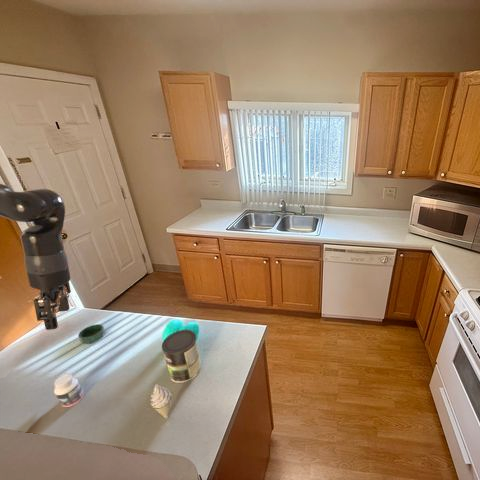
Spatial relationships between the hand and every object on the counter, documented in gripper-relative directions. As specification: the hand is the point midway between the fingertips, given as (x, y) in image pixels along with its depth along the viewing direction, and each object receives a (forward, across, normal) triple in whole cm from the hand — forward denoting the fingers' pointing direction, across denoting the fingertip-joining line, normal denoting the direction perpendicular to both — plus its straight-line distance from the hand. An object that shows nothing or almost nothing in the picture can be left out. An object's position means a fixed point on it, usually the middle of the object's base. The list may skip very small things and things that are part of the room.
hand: (58, 319), depth 71 cm
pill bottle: (+30, 0, 0) cm, 30 cm away
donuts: (+25, -11, +31) cm, 41 cm away
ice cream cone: (+27, +19, +26) cm, 42 cm away
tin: (+28, -29, -2) cm, 40 cm away
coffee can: (+26, +4, +31) cm, 41 cm away
